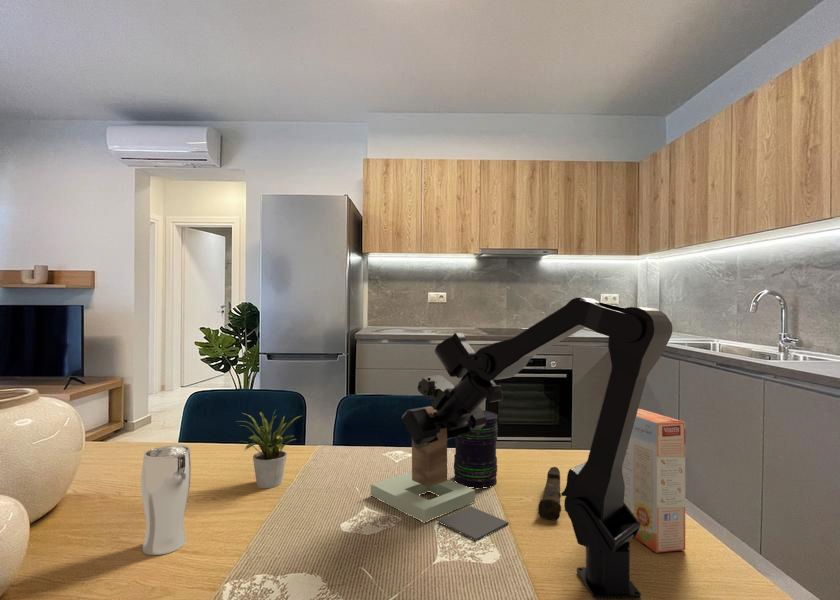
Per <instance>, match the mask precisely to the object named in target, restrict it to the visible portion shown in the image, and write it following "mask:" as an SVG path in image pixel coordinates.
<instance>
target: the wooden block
mask: <svg viewBox="0 0 840 600" xmlns="http://www.w3.org/2000/svg"><path fill="white" fill-rule="evenodd" d="M423 408H424V409H426V411H427V413H428V414H429V416H430V418H431V417H433V415H432V413H434V412H437V411H436V409H435V410H434V409H433V407H432V406H431V405H429V406H424V407H423ZM437 438H438V441H436V442H433V443H430V444H428V445H425V446H422V447H420V448H417V449H416V448H415V446H414V441H413V439H412V438H411V472H412V480H413V481H415V482H418V483H420V484H423V485H425V486H428V487H431V486H434V485H436V484H439V483H442V482H445V481H447V479H448V440H447V428H444V429H440V432H439V433H438V434H437Z"/></svg>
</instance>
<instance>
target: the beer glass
mask: <svg viewBox="0 0 840 600" xmlns="http://www.w3.org/2000/svg"><path fill="white" fill-rule="evenodd" d="M191 458H192V457H191V447H190V446H188V445H182V444H181V445H180V444H171V445H170V444H169V445H163V446H158V447H154V448H150V449H148V450H146V451H145V452H144V453H143V460H142V468H141V479H140V480H141V482H140V484H141V485H140V486H141V488H140V490H141V491H140V492H141V499H142V505H143V511H144V518H145V534H144V539H143V544H142V549H141V550H142V552H143V554H145V555H147V556H161V555H162V556H163V555H167V554H171V553H173V552H175V551H177V550H179V549H181V548H183V546H184V545H185V544H186V541H187V537H186V532H185V525H184V524H185V513H186V508H187V507H186V506H187V502H188V498H189V494H190V493H189V492H190V488H191V482H192V481H191V479H192V478H191V477H192V461H191Z"/></svg>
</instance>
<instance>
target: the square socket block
mask: <svg viewBox="0 0 840 600" xmlns="http://www.w3.org/2000/svg"><path fill="white" fill-rule="evenodd" d="M427 491H431V492H433V493H435V494H437V495H439V496H436V497H434V498H431V499H427V498H425V497H423V496H422V495H421V496H419V494H422V493H425V492H427ZM371 495H372V496H374V497H376V498H378V499H380V500H382V501H384V502H385V503H388V504H389V505H391V506H393V507H395V508H397V509H399V510H401V511H403V512H405V513H407V514H409V515H412V516H414V517H416V518H418V519H420V520H422V521H423V522H426V521H428V520H430V519H432V518H435V517H437V516H440V515H442V514H445V513H448V512H451V511H453V510H456V509H458V508H461V507H463V506H465V505H468V504H470V503H472V502H476V489H472V488H469V487H466V486H464V485H461V484H459V483H456V482H455V481H454V480H451V479H448V478H447V481H445V482H442V483H439V484H436V485H434V486H431V487H428V486H425V485H423V484H420V483H418V482H415V481H413V480H412V471H409V472H406V473H403V474H399V475H395V476H393V477H390V478H387V479H384V480H380V481H376V482H373V483H371V484H370V496H371ZM472 504H473V503H472ZM470 505H471V504H470ZM468 506H469V505H468ZM465 507H466V506H465ZM463 508H464V507H463ZM461 509H462V508H461ZM458 510H459V509H458ZM456 511H457V510H456ZM451 513H452V512H451Z"/></svg>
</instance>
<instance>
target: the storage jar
mask: <svg viewBox="0 0 840 600" xmlns="http://www.w3.org/2000/svg"><path fill="white" fill-rule="evenodd" d="M482 412H483V413H484V415H485V416H486V424H485V425H484V426H483V427H482V428H481V429H478V430H474V431H473V430H472V428H471V426H472V425H473V422H472V421H471V419H470V418H469V421H467V422H468V425H467V426H468V427H469V429H470V432H469V433H466V434H463V435H460V436H457V437H454V439H455V451H454V452H455V454H454V456H453V458H454V459H453V461H454V462H453V471H454V472H453V473H454V475H453V481H454V480H455V481H456V482H457V483H459V484H461V485H464V486H467V487H474V488H483V487H490V486H493V487H495V486H496V485H497V483H498V482H497V481H498V480H497V477H498V476H497V475H498V458H497V441H498V433H499V432H498V431H499V428H498V421H497V420H498V414H497V413H495V412H491V411H489V410H482ZM455 481H454V482H455ZM494 485H495V486H494Z"/></svg>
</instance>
